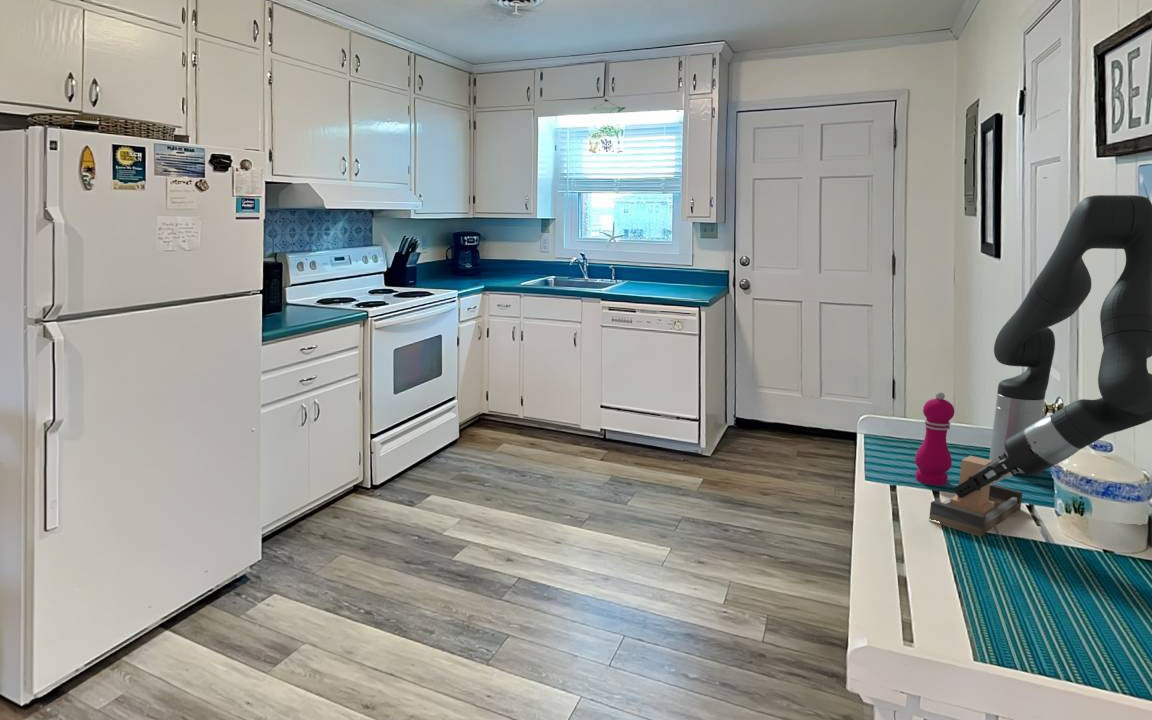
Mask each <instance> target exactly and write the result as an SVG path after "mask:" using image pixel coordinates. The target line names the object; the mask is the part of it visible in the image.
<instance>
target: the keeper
mask: <svg viewBox="0 0 1152 720" xmlns="http://www.w3.org/2000/svg"><path fill="white" fill-rule="evenodd" d="M991 462H992V460H989V459H987V458H983V457H979V456H974V455H968V456H967V457H965V458H964V457H963V458H962V459H961V463H960V472H959V480H958V485H960V484H962V483H963V482H965V481H967V479H969V477H970V476H974V475H976V474H977V473H979V469H981V468H982V467H984V466H986V465H988V464H989V463H991ZM977 480H978V481H979V482H980V480H979V479H978V478H977ZM980 483H981V482H980ZM981 485H982V483H981ZM989 490H990V485H989V484H987V485H986V486H984V487H982V489H980V490H977V491H976V490H975V491H973V492H972V493H970V494H968V495H966V496H965V497H963V498H960V497H958V495H957V496H955V497H953V496H952V497H953V498H951V497H950V498H951V499H950V505H951V506H954V507H958V508H961V509H965V510H968V511H972V512H975V513H979V514H982V515H985V514H987V513H988V512H990V511H992V510H993V509H994V505H995V502H993V501H989V500H988V498H989Z"/></svg>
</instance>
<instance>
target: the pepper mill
mask: <svg viewBox="0 0 1152 720" xmlns="http://www.w3.org/2000/svg"><path fill="white" fill-rule="evenodd" d="M945 397H946V396H945V393H943V392H942V391H939V392H936V393H935V398H931V399H929V400H927V401H926V402H925V403H924V405H923V407H922V408H923V409H922V412H923V413H922V414H923V416H924V417H925V419H924V424H923V426H924V428H925V436H924V438H923V441H922V443H921V445H920V446H919V448H918V449H917V451H916V453H915V457H914V463H915V465H916V466H917V469H916V470H915V480H916V481H917V482H920V483H922V484H926V485H930V486H945V485H946V484H947V483H948V474H947V473H946V472H948V471H949V470H951V468H952V462H953V461H952V456H951V453H950V450H949V447H948V444H947V434H948V431H949V430H950V428H951V426H950V425H951V422H950V421H951V420H952V419H953V417H954V416H955V407H954V405H953V404H952V403H951V402H950V401H948V400H946V399H945Z"/></svg>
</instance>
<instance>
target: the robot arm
mask: <svg viewBox="0 0 1152 720" xmlns="http://www.w3.org/2000/svg"><path fill="white" fill-rule="evenodd" d="M1091 249H1092V250H1093V249H1106V250H1107V249H1111V250H1112V249H1113V250H1114V249H1115V250H1124V254H1125V266H1124V268H1123V270H1122V273H1121V274H1120V276H1119V278H1118V279H1117V280H1116V282H1115V284H1114V285H1113V286H1112V288H1111V289H1110V290H1109V292H1108V293H1107V295H1106V297H1105V298H1104V300H1103V302H1102V305H1101V310H1100V314H1099V319H1100V320H1099V321H1100V331H1101V339H1102V341H1101V342H1102V346H1103V350H1102V354H1101V357H1100V364H1099V369H1098V377H1097V384H1098V389H1099V394H1100V395H1101V397H1100V398H1098V399H1097V398H1096V399H1087V398H1086V399H1085V398H1082V399H1077V400H1074V401H1072V402H1070V403H1069V404H1067V405H1065V406H1064V407H1062V408H1060V409H1058V410H1057V411H1055V412H1054V413H1052V414H1050V415H1048V416H1046V417H1043V416H1044V405H1045V398H1046V394H1047V393H1046V392H1047V390H1048V385H1049V381H1050V374H1051V368H1052V365H1053V360H1054V356H1055V355H1054V354H1055V350H1056V339H1055V338H1056V337H1055V334H1054V332H1053V330H1052V329H1051V328H1050V327H1052V326H1054V325H1057V324H1059V323H1062V322H1063V321H1065V320H1067V319H1068V318H1070V317H1071V316H1073V315H1074V314H1075V313H1076V312H1077V311H1078V309H1079V308H1080V307H1081V305H1082V304H1083V303H1084V302H1085V300H1086V299H1087V298H1088V296H1089V294H1090V292H1091V289H1092V278H1091V274H1090V272H1089V270H1088V267H1087V266H1086V264H1085V262H1084V259H1083V255H1084V254H1085V253H1086V252H1087V251H1089V250H1091ZM993 353H994V357H995V359H996V360H997V362H998V363H1000V364H1001V365H1004V366H1009V367H1024V368H1027V369H1026V370H1024V372H1022V373H1021V374H1020V373H1019V374H1018V375H1016V376H1014V377H1009V378H1006V379H1003V380H1001V381H1000V382H999V383H998V387H997V393H996V394H997V395H996V402H995V403H996V404H995V410H994V411H995V413H994V420H993V427H992V435H991V444H990V451H989V459H988V460H992V462H991V463H989V464H988V465H986V466H984V467H982V468H981V469H979V473H977V474H976V475H974V476H970V477H969V479H967V481H965V482H963V483H962V484H960V485H959V484H958V485H956V486H955V487H953V491H954V492H955V495H956V494H957V495H958V497H960V498H963V497H965V496H966V495H968V494H970V493H972V492H973V491H975V490H976V491H977V490H980V489H982V487H984V486H986V485H987V484H989V485H993V484H994V485H996V484H997V483H998V482H1001V481H1002V480H1004V479H1009V478H1011V477H1013V476H1014V475H1016V474H1027V475H1028V476H1029V475H1030V476H1037V475H1039V474H1041V473H1043V472H1045V471H1046V470H1048V469H1050V468H1052V467H1054V466H1055V465H1057V464H1060V463H1062V462H1063V461H1065V460H1068V459H1069V458H1070V457H1073V456H1074V455H1075V454H1076V453H1078V452H1079V451H1080V450H1082V449H1083V448H1086V447H1088V446H1090V445H1092V443H1093V444H1094V443H1095V442H1096V441H1099V440H1100V439H1102V438H1104V437H1106V436H1108V435H1110V434H1115V433H1117V432H1121V431H1125V430H1128V429H1131V428H1133V427H1136V426H1140V425H1142V424H1145V423H1147V422H1150V421H1152V373H1150V372H1149V370H1148V366H1147V365H1148V359H1149V358H1151V357H1152V202H1151V200H1150V199H1149V198H1148V197H1146V196H1143V195H1133V194H1132V195H1130V194H1127V195H1126V194H1123V195H1122V194H1121V195H1119V194H1116V195H1112V194H1111V195H1109V194H1108V195H1105V194H1103V195H1102V194H1100V195H1098V194H1097V195H1089V196H1087V197H1084V198H1083V199H1081V201H1080V202H1079V203H1078V204H1077V205H1076V207H1075V208H1074V210H1073V212H1072V213H1071V215H1070V217H1069V218H1068V221H1067V223H1066V225H1065V227H1064V230H1063V232H1062V234H1061V236H1060V237H1059V241H1058V243H1057V245H1056V247H1055V248H1054V251H1053V253H1051V256H1050V257H1049V259H1048V260H1047V262H1046V263H1045V265H1044V267H1043V269H1042V270H1041V271H1040V272H1039V274H1038V276H1037V277H1036V279H1035V281H1034V282H1033V284H1032V285H1031V287H1030V288H1029V290H1028V292H1027V294H1026V295H1025V297H1024V299H1023V301H1022V302H1021V304H1020V305H1019V307H1018V308H1017V310H1016V311H1015V312H1014V314H1012V315H1011V317H1010V318H1008V320H1007V321H1006V323H1005V324H1004V325H1003V326H1002V327H1001V329H1000V330H999V332H998V334H997V336H996V338H995V340H994V345H993ZM977 478H978V479H979V480H980V482H981V483H982V485H981V483H980V482H979V481H978V480H977Z"/></svg>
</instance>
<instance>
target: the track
mask: <svg viewBox="0 0 1152 720" xmlns="http://www.w3.org/2000/svg"><path fill="white" fill-rule="evenodd" d="M1023 493H1024V492H1023V491H1022V490H1021V491H1020V490H1017V489H1014V488H1009V487H1005V486H1001V485H998V484H993V485H990V490H989V498H988V500H989V501H993V502H995V505H994V509H993V510H992V511H990V512H988V513H987V514H985V515H982V514H979V513H975V512H972V511H968V510H965V509H961V508H958V507H954V506H951V505H950V499H951V498H953V497H955V496H957V494H956V493H955V494H954V495H953V496H951V497H949V498H947V499H946V500H944V501H942V502H939V501H936V500H933V501H931V502H930V507H929V508H930V509H929V517H928V520H929V519H931V520H936V521H939V522H940V524H939V525H942V526H944V527H948V528H951V529H954V530H957V531H960V532H964V533H967V534H970V535H972V536H973V535H974V536H977V537H980V538H981V537H982V536H984V535H985V534H987V533H988V532H990V531H991V530H993V529H994V528H995V527H997V526H999V524H1002V523H1003V522H1005V521H1006V520H1007V519H1009V518H1010V517H1011V516H1013V515H1014V514H1017V513H1018V512H1019V511H1021V508H1022V500H1023Z"/></svg>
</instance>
